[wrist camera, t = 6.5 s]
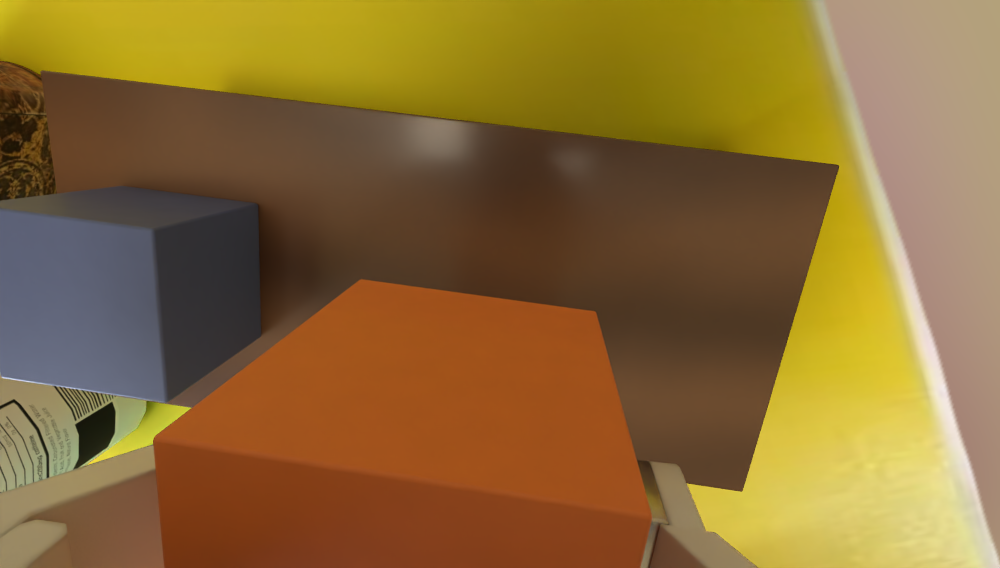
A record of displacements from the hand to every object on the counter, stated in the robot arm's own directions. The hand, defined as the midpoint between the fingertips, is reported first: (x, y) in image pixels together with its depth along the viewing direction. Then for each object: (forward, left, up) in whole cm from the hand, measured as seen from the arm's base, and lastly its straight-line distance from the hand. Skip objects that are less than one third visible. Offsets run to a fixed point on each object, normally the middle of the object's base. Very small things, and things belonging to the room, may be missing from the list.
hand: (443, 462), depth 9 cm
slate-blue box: (0, -11, -9) cm, 14 cm away
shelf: (0, -3, -19) cm, 19 cm away
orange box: (0, 0, -2) cm, 2 cm away
